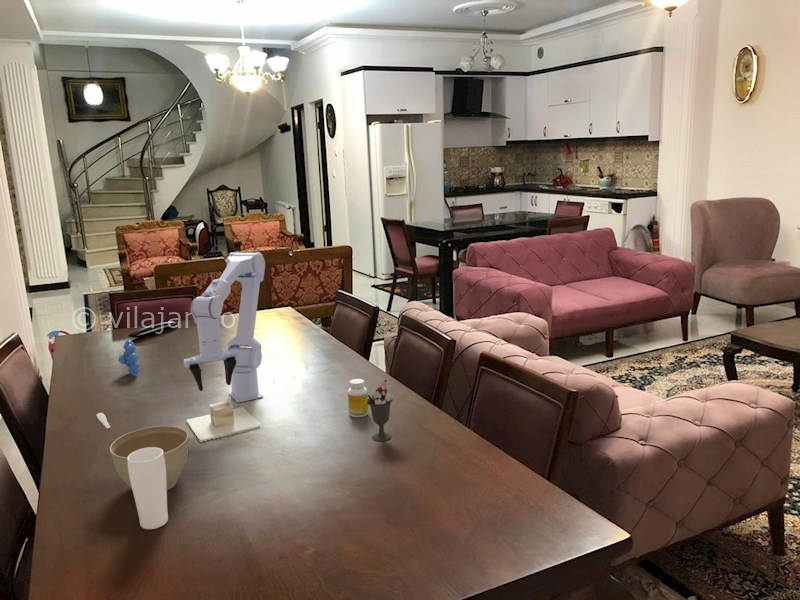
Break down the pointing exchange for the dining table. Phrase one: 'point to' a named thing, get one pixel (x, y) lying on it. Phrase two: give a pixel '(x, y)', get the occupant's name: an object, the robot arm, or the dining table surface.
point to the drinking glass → (149, 486)
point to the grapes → (130, 358)
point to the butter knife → (103, 419)
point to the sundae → (380, 411)
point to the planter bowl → (160, 437)
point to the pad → (209, 431)
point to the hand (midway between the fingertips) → (214, 386)
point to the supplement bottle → (357, 398)
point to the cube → (221, 414)
